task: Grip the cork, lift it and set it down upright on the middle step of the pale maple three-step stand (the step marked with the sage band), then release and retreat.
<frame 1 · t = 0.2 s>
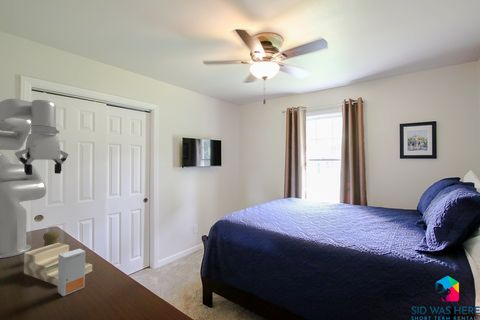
hand: (43, 174, 90), 36 cm above the dresser, tool pointing down, fingers open, 9 cm apart
skincare box: (71, 290, 72), on the dresser
cork: (51, 258, 95), on the dresser
step stand: (58, 272, 83), on the dresser
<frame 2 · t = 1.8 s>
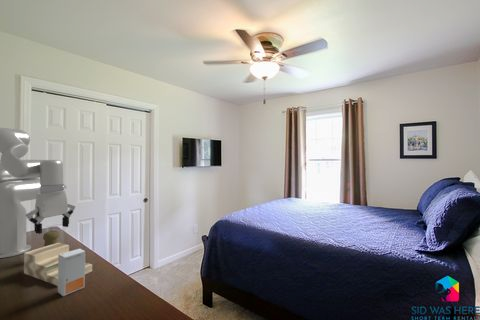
hand: (52, 229, 94), 12 cm above the dresser, tool pointing down, fingers open, 9 cm apart
nothing on the dresser moved.
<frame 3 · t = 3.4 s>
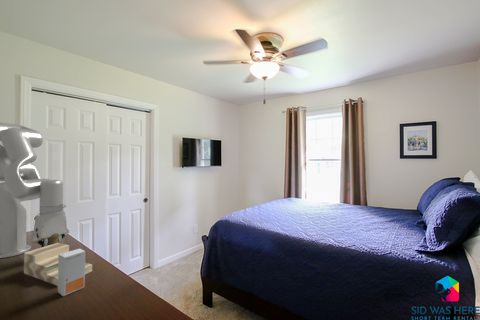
hand: (51, 252, 95), 2 cm above the dresser, tool pointing down, fingers closed on cork, 3 cm apart
cork: (51, 258, 95), on the dresser, touching gripper
everything else where it was.
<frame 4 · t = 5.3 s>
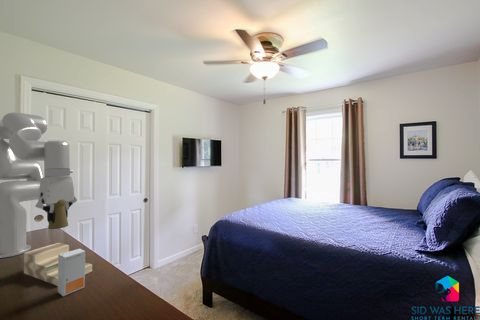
hand: (57, 221, 86), 18 cm above the dresser, tool pointing down, fingers closed on cork, 3 cm apart
cork: (58, 227, 86), point 16 cm above the dresser, touching gripper
everything else where it was.
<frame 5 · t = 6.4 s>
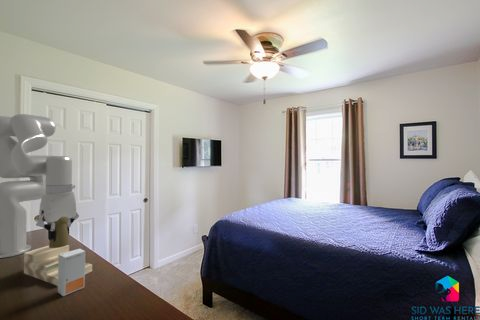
hand: (59, 238, 82), 12 cm above the dresser, tool pointing down, fingers closed on cork, 3 cm apart
cork: (59, 245, 83), point 10 cm above the dresser, touching gripper
everything else where it was.
when the fingers open (9 cm above the dresser, at t = 7.2 s): cork drops 1 cm, resting on step stand.
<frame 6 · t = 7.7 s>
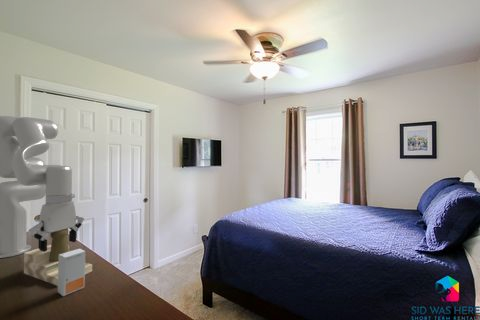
hand: (58, 245, 83), 10 cm above the dresser, tool pointing down, fingers open, 9 cm apart
cork: (59, 258, 83), point 5 cm above the dresser, touching step stand
everything else where it was.
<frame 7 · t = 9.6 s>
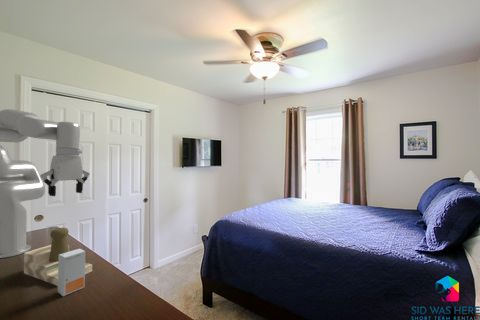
hand: (66, 194, 92), 27 cm above the dresser, tool pointing down, fingers open, 9 cm apart
nothing on the dresser moved.
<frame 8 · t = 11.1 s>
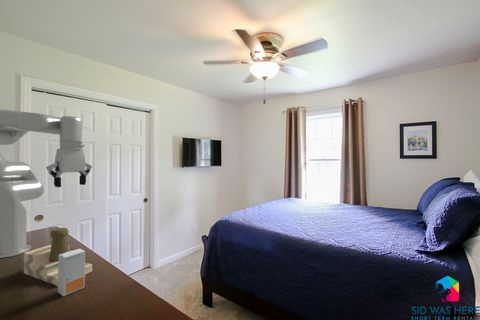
hand: (70, 185, 96), 30 cm above the dresser, tool pointing down, fingers open, 9 cm apart
nothing on the dresser moved.
at the end: cork inside the target area on the step stand (0.4 cm from its centre), point 4.8 cm above the step stand's base; cork tilted 0°; the gripper is holding nothing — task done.
